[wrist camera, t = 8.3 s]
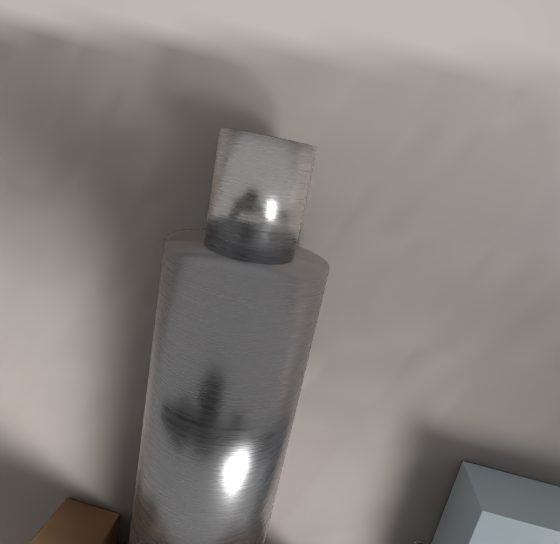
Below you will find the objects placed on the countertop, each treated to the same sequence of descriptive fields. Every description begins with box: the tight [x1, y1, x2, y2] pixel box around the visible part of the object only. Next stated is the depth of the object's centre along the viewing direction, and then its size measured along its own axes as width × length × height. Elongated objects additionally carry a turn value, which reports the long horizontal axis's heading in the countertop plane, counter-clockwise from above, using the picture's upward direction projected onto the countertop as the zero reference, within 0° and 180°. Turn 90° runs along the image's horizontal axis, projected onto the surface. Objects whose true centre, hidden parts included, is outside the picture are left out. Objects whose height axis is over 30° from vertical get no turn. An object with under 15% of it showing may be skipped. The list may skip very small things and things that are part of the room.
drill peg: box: [129, 127, 329, 544], centre depth 10 cm, size 4×13×4 cm, turn 169°
